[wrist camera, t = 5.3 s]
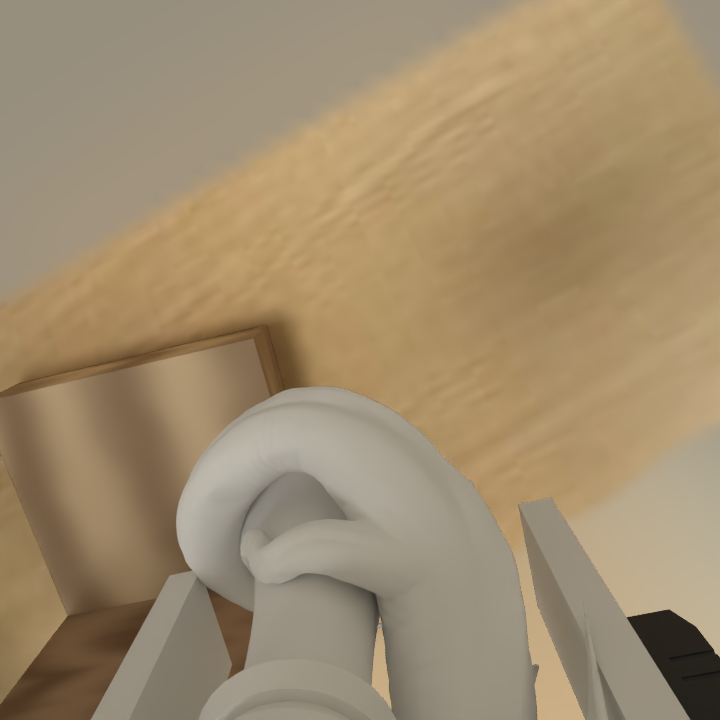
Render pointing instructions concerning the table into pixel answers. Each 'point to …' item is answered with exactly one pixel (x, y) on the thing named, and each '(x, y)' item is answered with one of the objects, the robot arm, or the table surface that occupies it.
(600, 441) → the table surface
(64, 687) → the wall shelf
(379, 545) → the figurine
